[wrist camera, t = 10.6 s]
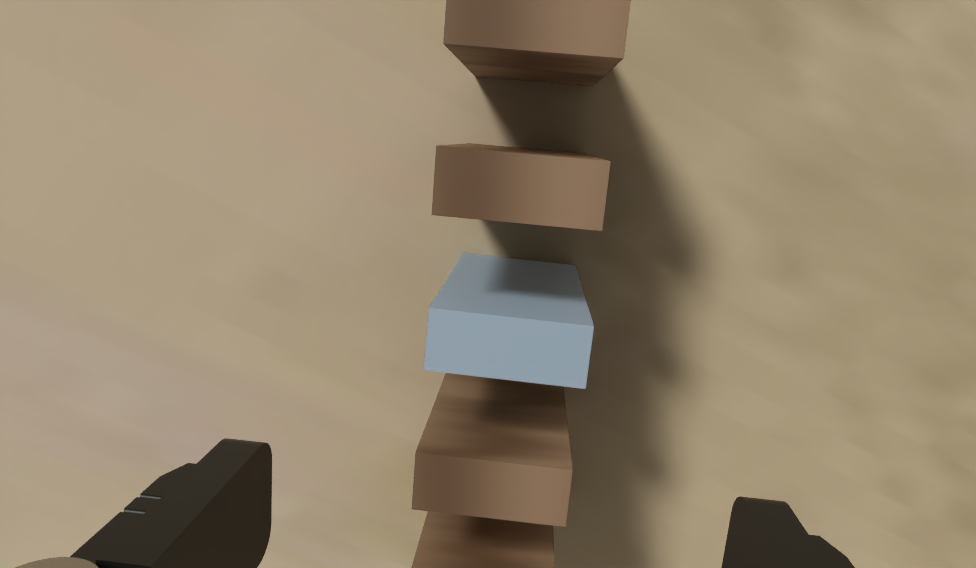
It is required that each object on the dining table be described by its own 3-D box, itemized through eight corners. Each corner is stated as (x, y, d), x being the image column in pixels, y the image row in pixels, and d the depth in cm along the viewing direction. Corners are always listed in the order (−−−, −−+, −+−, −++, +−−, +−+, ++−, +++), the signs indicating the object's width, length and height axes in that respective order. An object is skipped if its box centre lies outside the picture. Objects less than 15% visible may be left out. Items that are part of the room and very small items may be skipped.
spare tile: (575, 265, 30) (593, 326, 20) (569, 308, 30) (585, 389, 21) (463, 253, 30) (428, 307, 20) (459, 296, 31) (423, 370, 21)
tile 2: (585, 153, 29) (610, 161, 19) (579, 200, 29) (602, 230, 20) (469, 143, 29) (436, 145, 19) (466, 189, 30) (431, 214, 20)
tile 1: (598, 35, 28) (633, -20, 18) (593, 86, 28) (623, 58, 19) (478, 26, 28) (448, -34, 18) (474, 76, 29) (443, 43, 19)
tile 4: (560, 365, 31) (572, 470, 21) (556, 406, 31) (565, 527, 22) (452, 354, 31) (415, 452, 21) (449, 395, 32) (411, 508, 22)
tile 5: (549, 461, 32) (556, 603, 22) (545, 499, 32) (549, 654, 23) (445, 449, 32) (406, 584, 22) (442, 487, 33) (403, 636, 23)
